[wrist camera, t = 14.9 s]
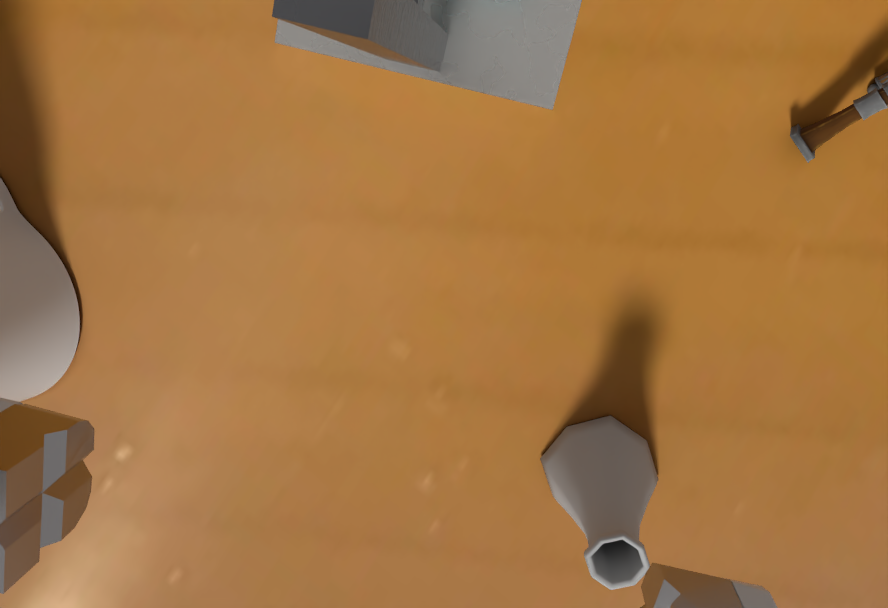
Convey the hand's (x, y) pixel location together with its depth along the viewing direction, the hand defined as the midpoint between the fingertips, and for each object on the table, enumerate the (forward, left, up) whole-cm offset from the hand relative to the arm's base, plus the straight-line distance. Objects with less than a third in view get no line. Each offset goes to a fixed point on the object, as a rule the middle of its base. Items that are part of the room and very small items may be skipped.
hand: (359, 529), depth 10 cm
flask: (+11, -14, -33) cm, 38 cm away
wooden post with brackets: (+18, +11, -33) cm, 39 cm away
